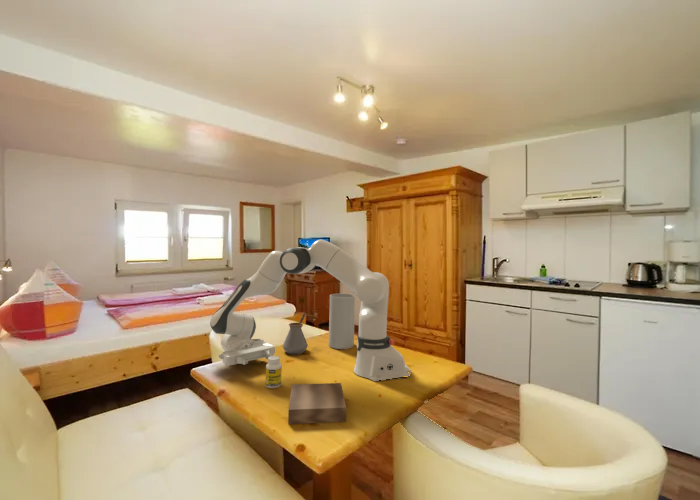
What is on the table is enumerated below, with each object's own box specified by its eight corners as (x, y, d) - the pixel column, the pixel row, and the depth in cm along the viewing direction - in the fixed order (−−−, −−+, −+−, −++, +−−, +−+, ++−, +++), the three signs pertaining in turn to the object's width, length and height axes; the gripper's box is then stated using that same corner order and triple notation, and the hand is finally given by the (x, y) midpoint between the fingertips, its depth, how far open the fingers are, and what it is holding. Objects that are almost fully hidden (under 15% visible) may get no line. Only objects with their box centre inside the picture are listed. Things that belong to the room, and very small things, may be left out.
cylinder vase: (357, 343, 161) (358, 294, 161) (348, 351, 149) (349, 298, 149) (334, 340, 165) (335, 293, 165) (324, 347, 154) (325, 296, 153)
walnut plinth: (340, 395, 105) (341, 383, 105) (345, 421, 89) (346, 407, 89) (291, 396, 103) (292, 384, 103) (288, 424, 87) (288, 409, 87)
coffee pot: (303, 356, 140) (304, 323, 140) (278, 354, 142) (279, 321, 142) (315, 342, 162) (316, 313, 161) (293, 341, 163) (294, 312, 163)
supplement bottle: (266, 389, 108) (267, 361, 108) (264, 383, 113) (264, 355, 113) (282, 387, 110) (283, 359, 110) (279, 381, 115) (280, 354, 115)
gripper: (217, 347, 124) (230, 357, 113) (265, 338, 137) (281, 346, 127) (216, 363, 124) (230, 374, 113) (265, 352, 137) (281, 361, 127)
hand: (257, 359), depth 120 cm, fingers open, 8 cm apart
